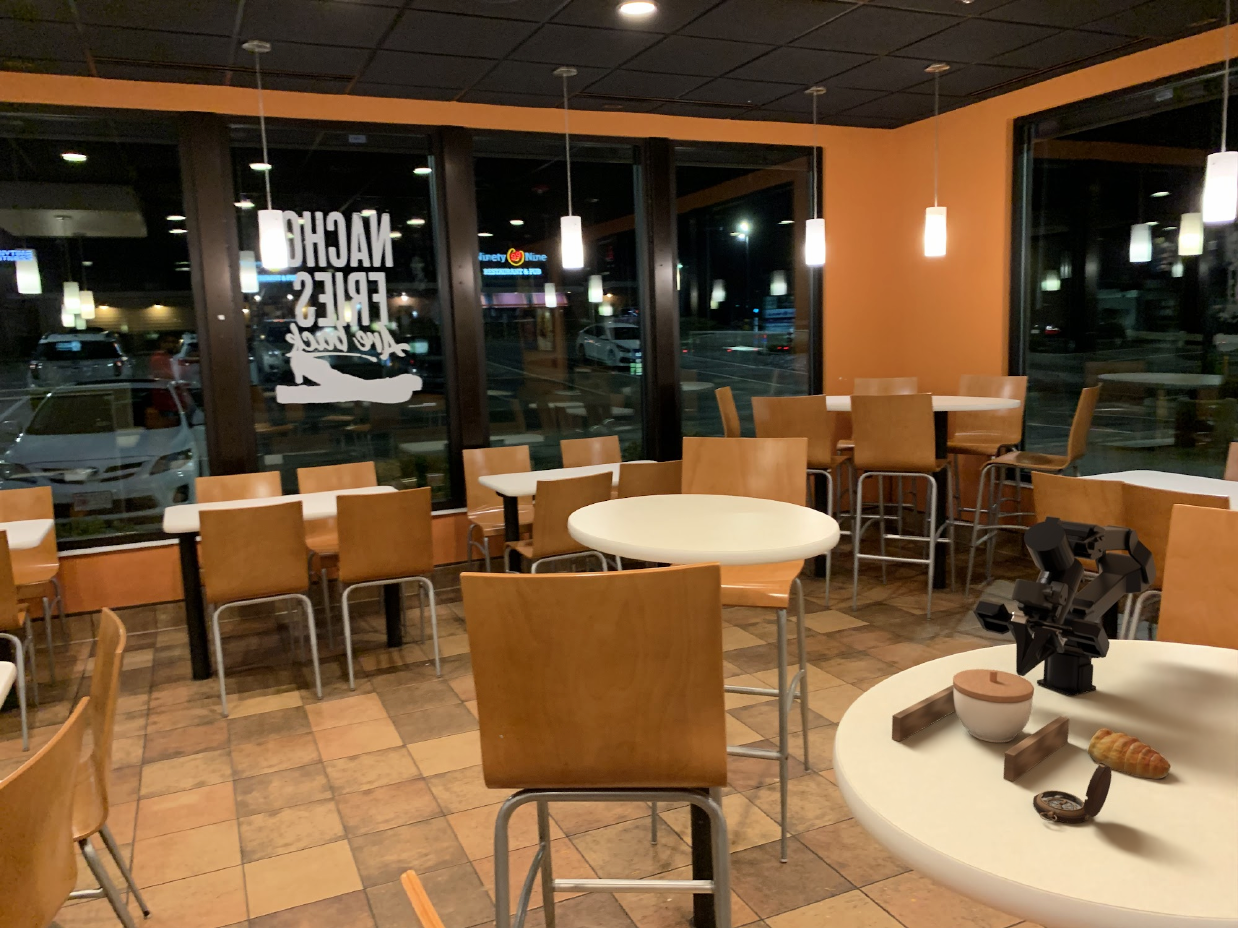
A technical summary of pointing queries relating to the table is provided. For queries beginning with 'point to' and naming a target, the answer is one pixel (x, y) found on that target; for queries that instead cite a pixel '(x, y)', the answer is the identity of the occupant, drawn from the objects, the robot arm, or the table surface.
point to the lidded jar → (992, 703)
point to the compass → (1075, 800)
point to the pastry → (1127, 755)
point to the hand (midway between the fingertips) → (1019, 674)
